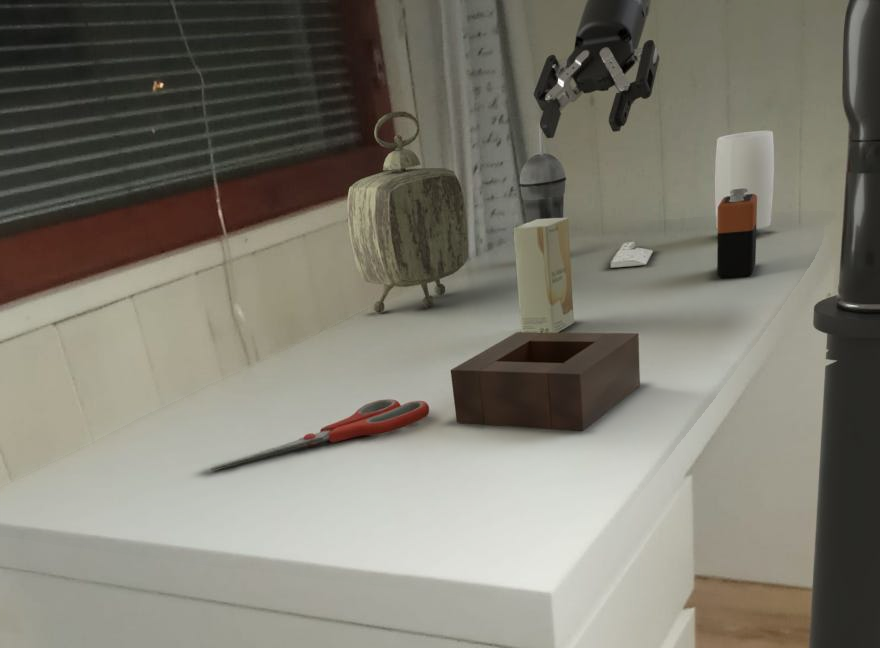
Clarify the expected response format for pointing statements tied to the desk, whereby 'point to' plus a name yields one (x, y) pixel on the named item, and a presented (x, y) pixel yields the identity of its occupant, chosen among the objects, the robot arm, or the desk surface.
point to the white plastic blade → (630, 256)
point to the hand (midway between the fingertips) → (579, 130)
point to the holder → (547, 379)
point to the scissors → (355, 425)
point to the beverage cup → (542, 185)
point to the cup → (746, 170)
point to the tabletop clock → (407, 222)
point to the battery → (736, 234)
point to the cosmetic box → (544, 275)
